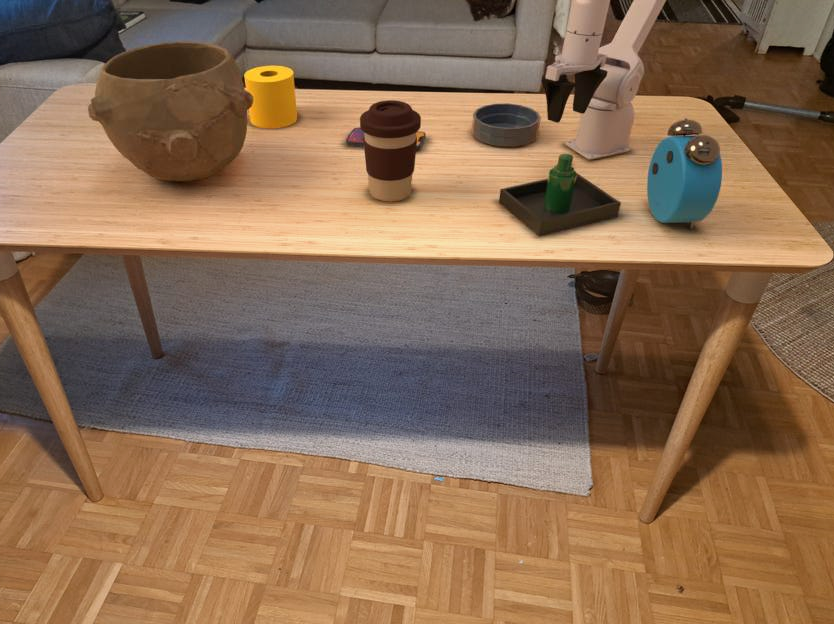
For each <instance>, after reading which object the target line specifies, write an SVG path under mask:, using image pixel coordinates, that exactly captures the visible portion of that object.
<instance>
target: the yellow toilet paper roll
mask: <svg viewBox="0 0 834 624" xmlns="http://www.w3.org/2000/svg"><path fill="white" fill-rule="evenodd" d="M243 76H244V84H245V85H244V86H245V91H247V92H249V93H250V94H251V95H252V96H253V104H252V107H250V108H249V109H248V112H249V121H250V124H251V125H253V126H254V127H257V128H260V129H281V128H285V127H288V126H291V125H293V124H294V123H296V122H297V120H298V111H297V99H296V88H295V87H296V86H295V76H294V71H293V70H292V69H291V68H290V67H287V66H282V65H263V66H258V67H254V68H251V69H248V70H247V71H246V72H245V73H244V75H243Z"/></svg>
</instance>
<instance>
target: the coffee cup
mask: <svg viewBox="0 0 834 624" xmlns="http://www.w3.org/2000/svg"><path fill="white" fill-rule="evenodd" d="M421 122H422V117H421V115H420V113H418V111H416V110H413V108H412V106H411V105H410V104H409V103H407V102H405V101H401V100H393V99H391V100H390V99H389V100H381V101H377V102H375V103H372V104H371V105H370V106H369V108H368V110H366V111H364V112H363V113H362V114H361V115H360V117H359V128H361V130H362V131H363V132H364V136H365V137H364V147H363V149H364V161H365V170H366V173H367V179H368V190H369V194H370V195H371V196H372V197H373V198H374V199H376V200H378V201H383V202H398V201H401V200H404V199H407V197H409V195H410V194H411V192H412V183H413V174H414V172H415V166H416V156H417V150H416V146H417V137H416V132H417V131H419V130H420V129H421V126H422V123H421Z"/></svg>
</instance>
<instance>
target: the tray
mask: <svg viewBox="0 0 834 624" xmlns="http://www.w3.org/2000/svg"><path fill="white" fill-rule="evenodd" d="M576 173H577V178H576V183H575V188H574V193H573V198H572V203H571V208H570V210H569V211H567V212H564V213H554V212H550V211H548V210H546V209H545V208H544V200H545V194H546V188H547V182H548V178H545V179H539V180H535V181H531V182H530V181H529V182H527V183H522V184H516V185H512V186H508V187H504V188H500V190H499V200H498V204H500V205H501V206H502V207H503V208H504V209H506V210H507V211H508V212H510V214H512V215H513V216H514V217H516V219H518V220H519V221H520V222H521V223H522V224H524V225H525V226H526V228H528V229H530V231H532V232H533V233H535V234H536V236H538V237H541V236H545V235H550V234H554V233H557V232H561V231H565V230H569V229H573V228H577V227H580V226H584V225H588V224H589V225H590V224H592V223H597V222H601V221H605V220H610V219H613V218H616V217H617V218H618V216H619V213H620V212H619V211H620V209H621V205H622V202H621V201H619V200H618V199H617V198H614V196H611V194H609V193H607V191H604V189H601V188H600V187H598V186H597V185H596V184H594V183H593V182H591V181H589V179H587V178H585V177H584V176H582V175H581V174H580V173H578V172H576Z"/></svg>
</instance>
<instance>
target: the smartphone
mask: <svg viewBox="0 0 834 624" xmlns="http://www.w3.org/2000/svg"><path fill="white" fill-rule="evenodd" d="M426 135H427V134H426V132H425V131H422V130H421V131H419V130H418V131H417V132H416V137H417V146H416V151H419V150H421V148H422V147H423V144H424V142H425V140H426V138H427V136H426ZM364 137H365V136H364V132H363V131H362V130H361V128H360V127H354V128H353V129H351V132H350V133H349V135H348V136H347V138H346V139H345V144H346V145H347V146H350V147H360V148H361V147H362V148H364Z"/></svg>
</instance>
